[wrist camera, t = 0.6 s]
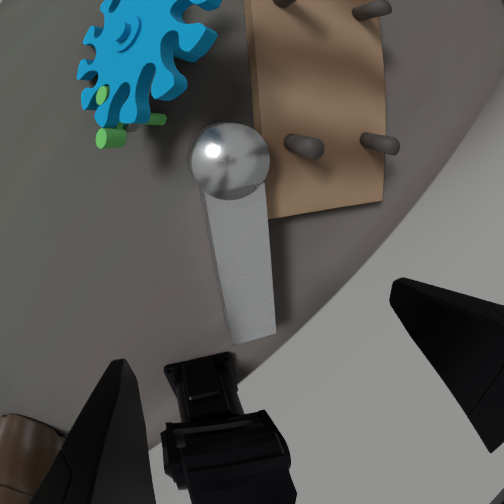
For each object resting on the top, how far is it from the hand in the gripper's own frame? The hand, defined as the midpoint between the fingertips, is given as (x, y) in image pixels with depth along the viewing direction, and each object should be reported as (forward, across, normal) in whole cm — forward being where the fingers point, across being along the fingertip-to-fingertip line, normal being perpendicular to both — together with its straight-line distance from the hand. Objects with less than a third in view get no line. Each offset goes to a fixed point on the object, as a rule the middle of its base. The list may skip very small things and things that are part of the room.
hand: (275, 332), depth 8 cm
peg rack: (+12, -9, -9) cm, 18 cm away
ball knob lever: (+13, -1, +2) cm, 13 cm away
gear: (+13, +3, -11) cm, 17 cm away
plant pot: (+14, +32, +25) cm, 43 cm away
